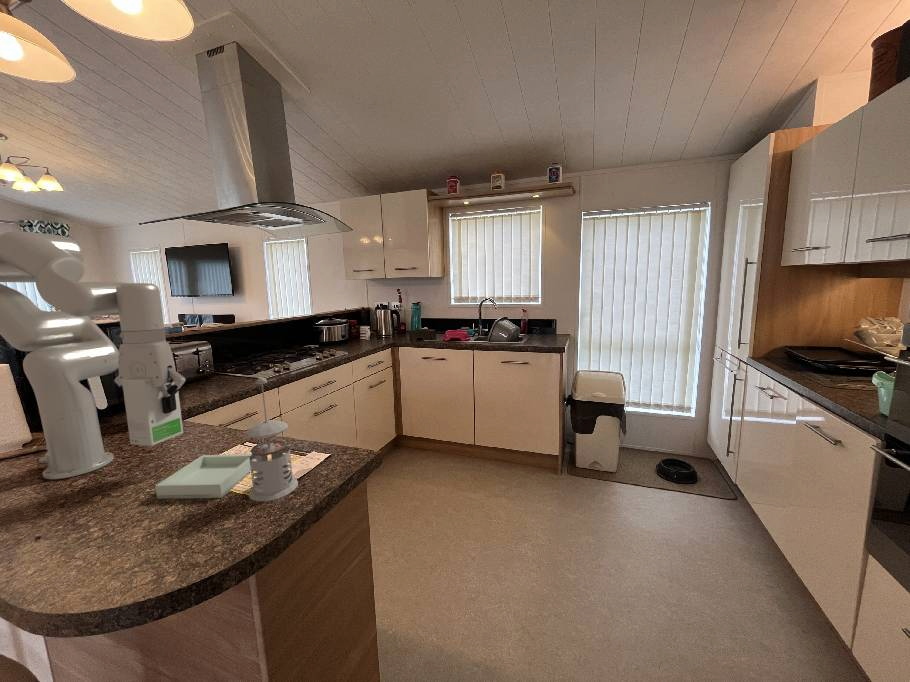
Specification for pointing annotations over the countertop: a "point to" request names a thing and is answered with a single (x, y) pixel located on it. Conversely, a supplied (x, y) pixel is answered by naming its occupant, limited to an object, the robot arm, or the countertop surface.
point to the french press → (273, 473)
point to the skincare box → (149, 413)
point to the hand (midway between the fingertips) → (154, 411)
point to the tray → (205, 477)
